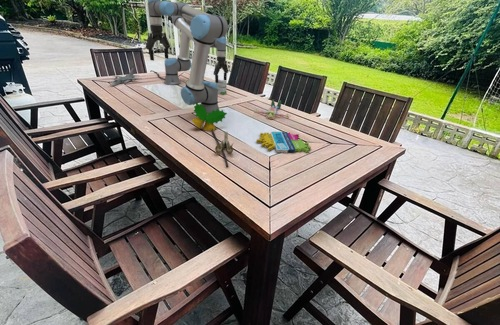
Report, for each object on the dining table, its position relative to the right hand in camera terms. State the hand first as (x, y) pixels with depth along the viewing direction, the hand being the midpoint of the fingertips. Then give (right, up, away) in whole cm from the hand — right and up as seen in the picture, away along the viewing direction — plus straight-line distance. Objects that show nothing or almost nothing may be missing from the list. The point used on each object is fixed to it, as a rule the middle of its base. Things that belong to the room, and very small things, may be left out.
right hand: (159, 59), depth 181 cm
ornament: (+37, -50, -16) cm, 64 cm away
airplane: (-59, +7, +73) cm, 94 cm away
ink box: (+36, -8, +59) cm, 69 cm away
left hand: (+37, +1, +54) cm, 65 cm away
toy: (+80, -34, +18) cm, 89 cm away
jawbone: (+49, -66, -42) cm, 92 cm away
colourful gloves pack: (+81, -60, -28) cm, 105 cm away
